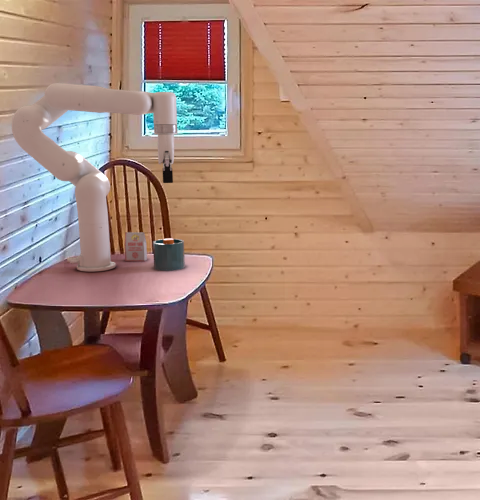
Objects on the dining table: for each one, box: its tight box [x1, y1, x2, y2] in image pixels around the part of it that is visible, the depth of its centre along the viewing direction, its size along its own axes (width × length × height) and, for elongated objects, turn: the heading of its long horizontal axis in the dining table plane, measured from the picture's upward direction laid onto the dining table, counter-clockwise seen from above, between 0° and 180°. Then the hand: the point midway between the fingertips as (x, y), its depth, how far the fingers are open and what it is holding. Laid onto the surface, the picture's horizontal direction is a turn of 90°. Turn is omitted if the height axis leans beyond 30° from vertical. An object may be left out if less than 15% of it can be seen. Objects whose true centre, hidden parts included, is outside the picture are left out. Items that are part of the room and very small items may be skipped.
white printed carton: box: [124, 231, 148, 262], centre depth 271 cm, size 4×7×10 cm, turn 90°
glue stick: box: [162, 237, 175, 244], centre depth 260 cm, size 3×3×9 cm
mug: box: [152, 238, 186, 272], centre depth 262 cm, size 14×10×9 cm
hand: (167, 181), depth 257 cm, fingers open, 9 cm apart
